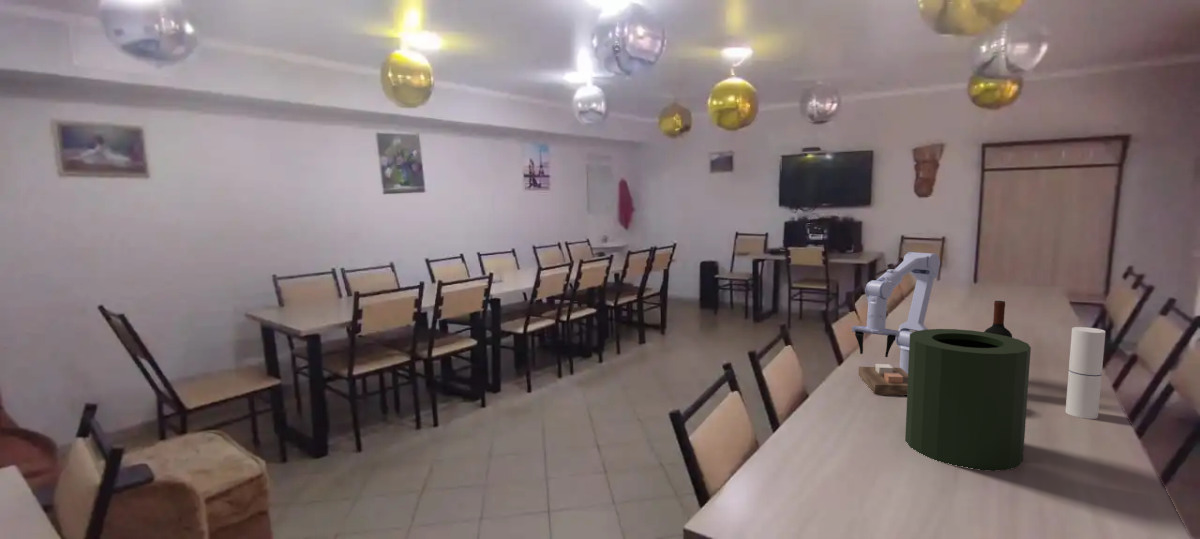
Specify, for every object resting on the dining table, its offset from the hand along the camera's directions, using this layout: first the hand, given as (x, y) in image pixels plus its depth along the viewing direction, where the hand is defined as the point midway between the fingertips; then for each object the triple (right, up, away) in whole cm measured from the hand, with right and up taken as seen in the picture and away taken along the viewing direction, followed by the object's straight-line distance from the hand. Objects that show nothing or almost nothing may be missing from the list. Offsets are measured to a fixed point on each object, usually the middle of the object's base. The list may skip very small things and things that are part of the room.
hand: (873, 355), depth 189 cm
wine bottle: (+34, -11, -10) cm, 37 cm away
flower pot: (-2, -16, -48) cm, 51 cm away
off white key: (+5, -8, +4) cm, 10 cm away
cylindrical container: (+46, -13, -29) cm, 56 cm away
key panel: (+5, -10, -1) cm, 11 cm away
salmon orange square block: (+3, -9, -6) cm, 11 cm away
